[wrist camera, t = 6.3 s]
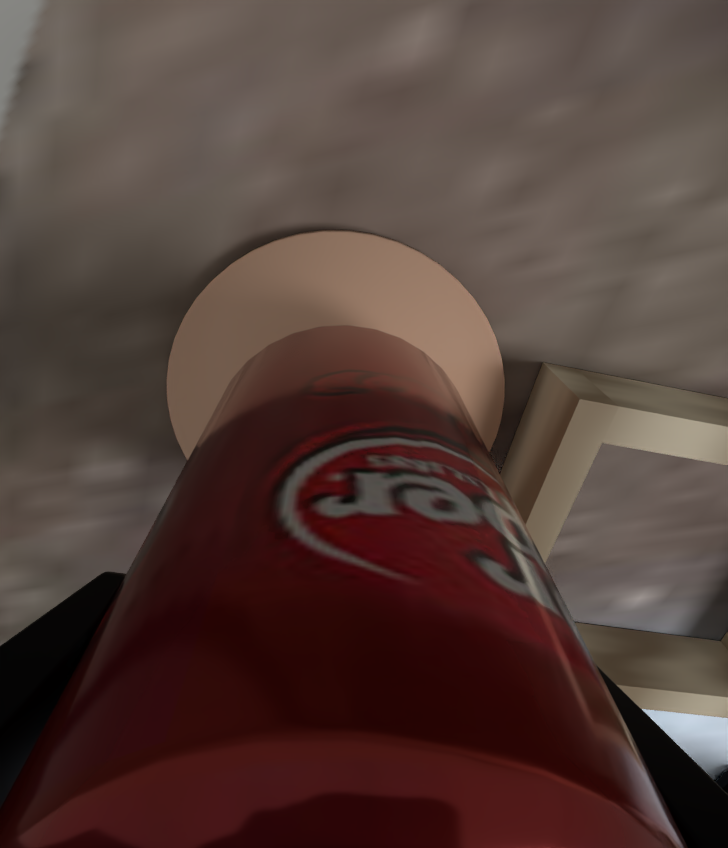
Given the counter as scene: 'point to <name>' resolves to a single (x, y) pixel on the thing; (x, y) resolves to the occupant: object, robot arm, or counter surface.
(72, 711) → the soda can
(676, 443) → the square beige frame
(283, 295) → the saucer
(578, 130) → the counter surface
